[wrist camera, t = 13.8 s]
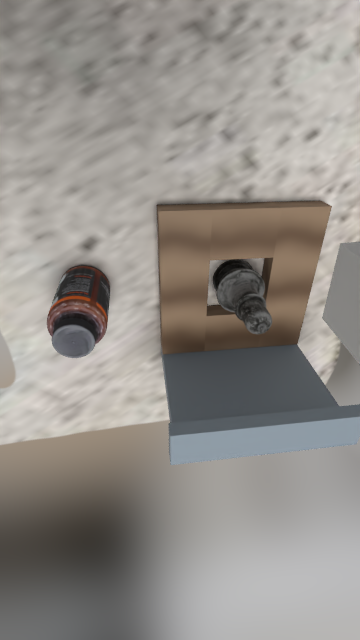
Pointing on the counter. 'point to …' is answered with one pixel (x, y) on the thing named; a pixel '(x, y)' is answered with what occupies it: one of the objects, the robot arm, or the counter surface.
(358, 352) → the robot arm
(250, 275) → the dark grey chess piece
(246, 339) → the socket block
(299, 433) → the grey upright panel
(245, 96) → the counter surface
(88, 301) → the supplement bottle
